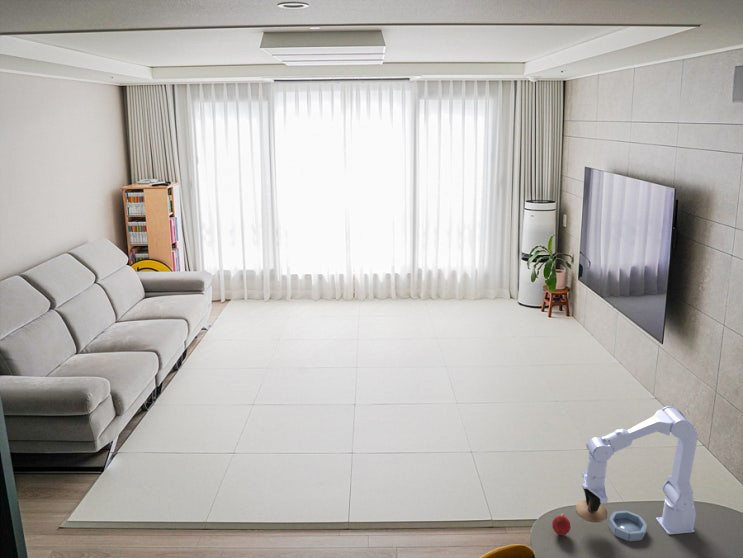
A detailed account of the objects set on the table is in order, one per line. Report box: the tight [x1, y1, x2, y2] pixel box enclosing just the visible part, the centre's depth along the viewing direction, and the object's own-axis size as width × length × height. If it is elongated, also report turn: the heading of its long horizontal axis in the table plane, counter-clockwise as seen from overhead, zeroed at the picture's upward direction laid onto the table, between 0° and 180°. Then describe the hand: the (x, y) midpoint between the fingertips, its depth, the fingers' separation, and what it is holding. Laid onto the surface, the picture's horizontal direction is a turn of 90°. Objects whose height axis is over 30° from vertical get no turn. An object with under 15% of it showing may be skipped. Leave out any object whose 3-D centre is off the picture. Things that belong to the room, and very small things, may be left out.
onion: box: [551, 513, 571, 536], centre depth 214 cm, size 6×6×8 cm
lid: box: [575, 499, 608, 523], centre depth 215 cm, size 10×10×4 cm
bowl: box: [608, 510, 648, 542], centre depth 217 cm, size 11×11×3 cm
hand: (592, 507), depth 215 cm, fingers closed on lid, 2 cm apart
